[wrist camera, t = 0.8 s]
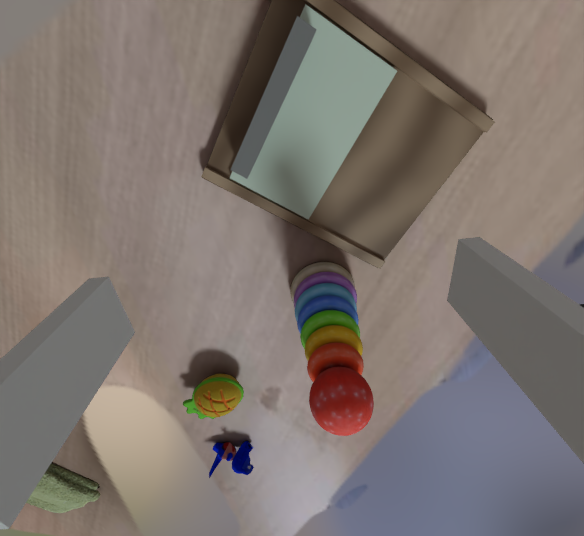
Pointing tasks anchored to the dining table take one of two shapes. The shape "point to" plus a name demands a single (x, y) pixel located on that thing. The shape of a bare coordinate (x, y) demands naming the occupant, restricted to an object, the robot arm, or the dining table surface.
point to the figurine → (233, 457)
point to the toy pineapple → (215, 396)
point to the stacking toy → (332, 347)
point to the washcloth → (62, 491)
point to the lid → (310, 114)
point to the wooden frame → (360, 140)
